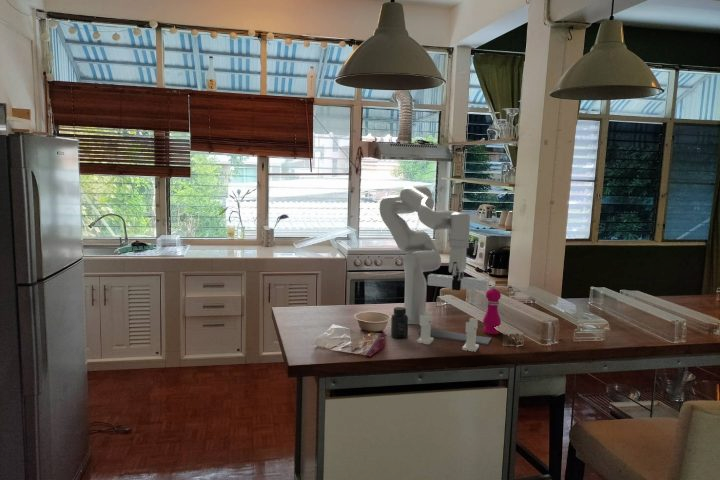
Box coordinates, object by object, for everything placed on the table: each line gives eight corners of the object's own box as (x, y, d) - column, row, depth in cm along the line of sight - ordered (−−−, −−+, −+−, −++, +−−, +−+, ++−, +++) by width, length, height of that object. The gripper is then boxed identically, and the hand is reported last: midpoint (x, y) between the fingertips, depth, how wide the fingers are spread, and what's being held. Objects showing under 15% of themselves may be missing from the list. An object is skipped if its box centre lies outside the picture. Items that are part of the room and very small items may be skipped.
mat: (418, 334, 223) (418, 333, 223) (424, 329, 231) (424, 328, 231) (487, 345, 212) (487, 343, 212) (491, 339, 219) (491, 337, 219)
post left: (416, 342, 213) (417, 315, 212) (422, 338, 219) (422, 311, 218) (428, 344, 211) (429, 317, 209) (433, 339, 217) (435, 313, 216)
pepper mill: (500, 335, 225) (503, 287, 222) (482, 333, 226) (485, 286, 224) (499, 330, 232) (502, 284, 229) (482, 328, 233) (484, 283, 231)
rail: (427, 285, 221) (427, 275, 221) (430, 283, 225) (430, 273, 224) (486, 291, 212) (487, 281, 211) (488, 289, 215) (489, 279, 215)
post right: (461, 350, 206) (463, 321, 204) (466, 344, 212) (467, 317, 210) (475, 352, 204) (476, 323, 202) (479, 346, 210) (480, 319, 208)
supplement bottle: (409, 335, 222) (410, 307, 220) (405, 340, 215) (406, 311, 214) (393, 333, 224) (394, 305, 222) (388, 338, 217) (389, 309, 216)
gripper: (455, 240, 225) (453, 284, 227) (444, 245, 210) (442, 292, 212) (473, 241, 222) (471, 285, 224) (463, 246, 207) (461, 294, 209)
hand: (457, 288), depth 218 cm, fingers closed on rail, 4 cm apart
